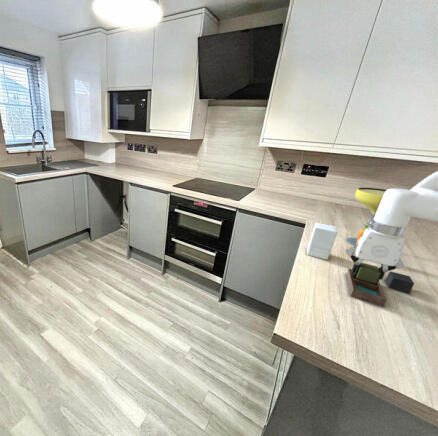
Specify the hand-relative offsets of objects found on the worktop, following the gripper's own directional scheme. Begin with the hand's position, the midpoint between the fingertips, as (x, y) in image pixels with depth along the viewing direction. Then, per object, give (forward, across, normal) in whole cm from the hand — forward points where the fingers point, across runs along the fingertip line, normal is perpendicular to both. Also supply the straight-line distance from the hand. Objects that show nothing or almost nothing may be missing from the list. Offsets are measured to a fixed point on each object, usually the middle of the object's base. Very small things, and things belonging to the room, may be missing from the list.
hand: (365, 276), depth 80 cm
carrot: (+3, +2, +26) cm, 27 cm away
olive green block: (0, 0, 0) cm, 0 cm away
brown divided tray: (+3, 0, -4) cm, 5 cm away
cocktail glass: (+3, +5, +42) cm, 42 cm away
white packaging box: (+3, -13, +16) cm, 21 cm away
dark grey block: (+3, +10, +6) cm, 12 cm away
